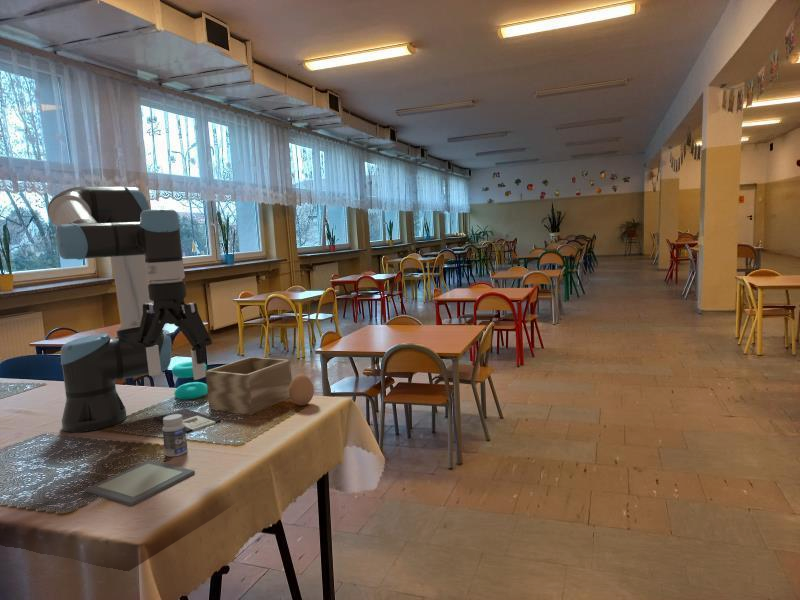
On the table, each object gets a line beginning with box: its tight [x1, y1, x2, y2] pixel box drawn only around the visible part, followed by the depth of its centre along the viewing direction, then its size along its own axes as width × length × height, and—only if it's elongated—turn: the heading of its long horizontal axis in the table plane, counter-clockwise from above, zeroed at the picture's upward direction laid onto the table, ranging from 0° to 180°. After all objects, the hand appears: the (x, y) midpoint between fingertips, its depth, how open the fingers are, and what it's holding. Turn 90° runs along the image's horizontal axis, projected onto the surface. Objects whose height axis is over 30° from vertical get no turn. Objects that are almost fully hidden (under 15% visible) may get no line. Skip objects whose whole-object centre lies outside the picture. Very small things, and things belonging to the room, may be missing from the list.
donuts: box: [171, 361, 208, 401], centre depth 164 cm, size 10×10×10 cm
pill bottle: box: [161, 414, 188, 458], centre depth 119 cm, size 5×5×8 cm
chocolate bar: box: [153, 408, 221, 434], centre depth 141 cm, size 9×1×18 cm
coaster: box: [84, 459, 196, 506], centre depth 105 cm, size 14×14×1 cm
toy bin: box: [205, 356, 293, 416], centre depth 153 cm, size 16×18×11 cm
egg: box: [289, 373, 315, 407], centre depth 148 cm, size 7×7×9 cm
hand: (177, 376), depth 119 cm, fingers open, 13 cm apart
